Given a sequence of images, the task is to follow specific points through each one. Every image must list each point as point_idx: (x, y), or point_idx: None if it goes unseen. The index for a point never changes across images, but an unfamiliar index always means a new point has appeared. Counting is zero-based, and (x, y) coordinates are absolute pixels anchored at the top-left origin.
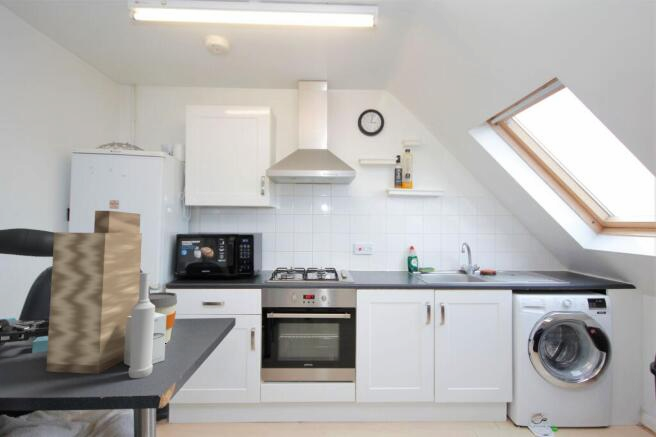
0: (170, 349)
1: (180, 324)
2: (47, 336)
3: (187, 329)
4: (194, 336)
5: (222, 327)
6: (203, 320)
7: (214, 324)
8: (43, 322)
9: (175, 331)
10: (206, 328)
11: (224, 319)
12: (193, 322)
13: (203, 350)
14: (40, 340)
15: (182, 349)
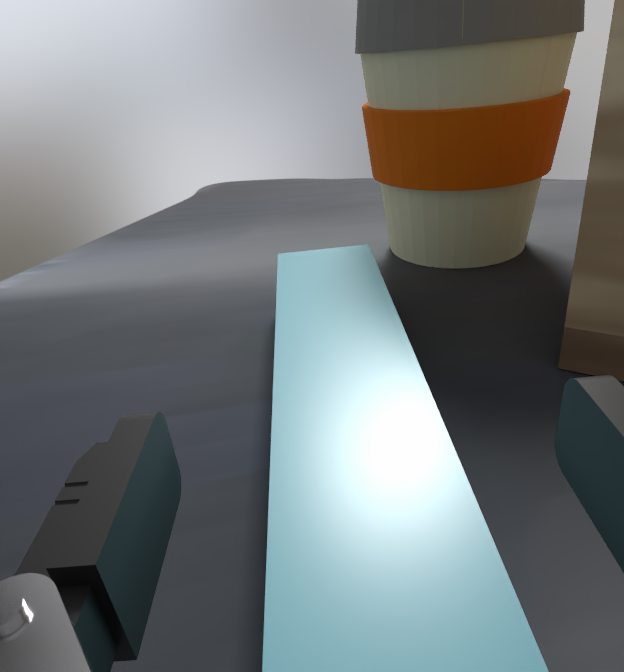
0: (557, 214)
1: (200, 231)
2: (288, 634)
3: (297, 215)
4: None
5: (327, 181)
6: (193, 206)
7: (274, 191)
8: (60, 598)
9: (306, 228)
10: (316, 195)
11: (224, 186)
12: (200, 216)
13: (576, 181)
14: (501, 658)
15: (560, 201)
